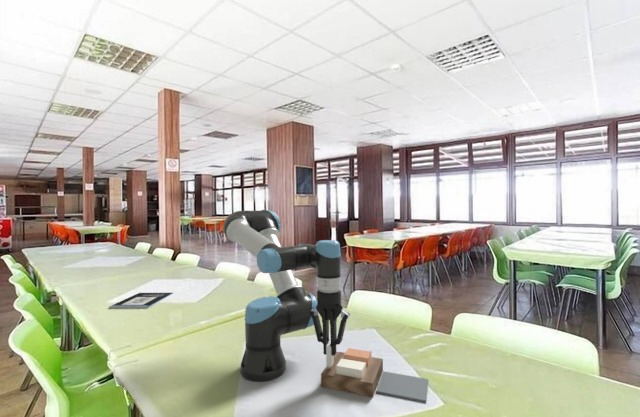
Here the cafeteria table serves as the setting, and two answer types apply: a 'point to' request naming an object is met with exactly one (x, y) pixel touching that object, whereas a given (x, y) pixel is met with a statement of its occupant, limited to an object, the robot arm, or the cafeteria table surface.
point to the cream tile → (351, 368)
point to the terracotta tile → (358, 355)
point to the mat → (403, 386)
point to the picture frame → (141, 300)
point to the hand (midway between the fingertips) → (330, 364)
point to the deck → (352, 383)
